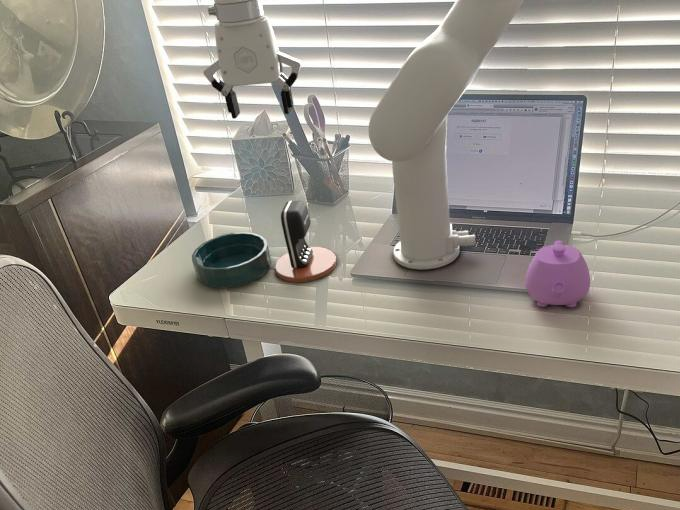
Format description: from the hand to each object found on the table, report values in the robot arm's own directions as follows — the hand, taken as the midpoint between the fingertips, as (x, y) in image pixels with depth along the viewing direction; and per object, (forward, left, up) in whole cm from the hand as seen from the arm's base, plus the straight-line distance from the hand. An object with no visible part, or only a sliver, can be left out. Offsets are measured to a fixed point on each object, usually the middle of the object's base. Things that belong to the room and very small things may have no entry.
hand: (262, 113), depth 124 cm
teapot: (-50, +26, -26) cm, 62 cm away
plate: (-5, +10, -26) cm, 29 cm away
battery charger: (-5, +10, -26) cm, 28 cm away
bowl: (+9, +10, -26) cm, 30 cm away
